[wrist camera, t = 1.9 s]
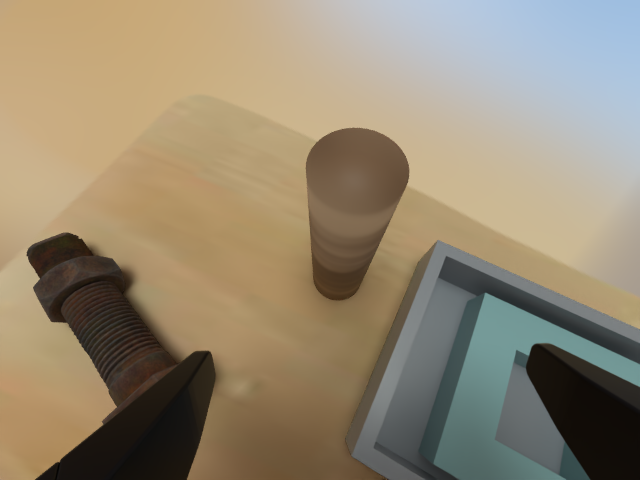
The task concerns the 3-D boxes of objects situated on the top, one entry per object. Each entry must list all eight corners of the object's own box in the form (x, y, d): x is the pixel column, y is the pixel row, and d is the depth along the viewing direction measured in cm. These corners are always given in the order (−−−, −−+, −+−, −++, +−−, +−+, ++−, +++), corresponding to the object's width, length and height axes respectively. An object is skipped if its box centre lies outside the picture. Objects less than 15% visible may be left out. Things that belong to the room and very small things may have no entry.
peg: (348, 308, 21) (385, 229, 9) (304, 286, 22) (286, 185, 10) (369, 266, 23) (423, 150, 11) (326, 246, 23) (334, 115, 11)
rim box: (673, 640, 15) (790, 730, 11) (345, 439, 18) (351, 456, 14) (680, 382, 19) (765, 385, 16) (418, 261, 23) (438, 240, 19)
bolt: (100, 259, 25) (206, 400, 20) (21, 286, 21) (126, 466, 17) (88, 205, 21) (214, 364, 16) (-11, 229, 18) (113, 439, 13)
